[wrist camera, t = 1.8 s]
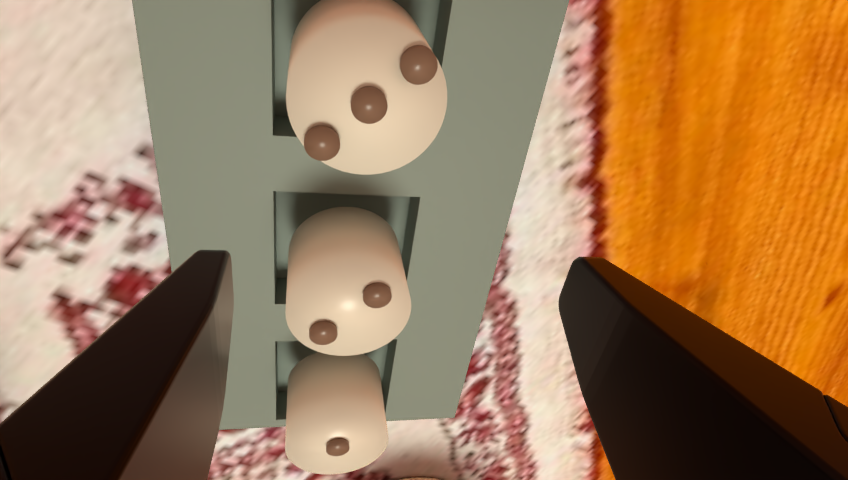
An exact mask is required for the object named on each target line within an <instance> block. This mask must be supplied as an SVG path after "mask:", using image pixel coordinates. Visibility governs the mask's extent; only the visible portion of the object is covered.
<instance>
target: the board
mask: <svg viewBox="0 0 848 480" xmlns="http://www.w3.org/2000/svg"><path fill="white" fill-rule="evenodd" d="M319 1H321V0H132V3H133V10H134V17H135V24H136V30H137V37H138V44H139V51H140V58H141V65H142V72H143V78H144V85H145V92H146V99H147V106H148V113H149V120H150V126H151V133H152V140H153V147H154V154H155V161H156V168H157V174H158V181H159V188H160V195H161V202H162V209H163V215H164V222H165V229H166V236H167V243H168V250H169V257H170V263H171V270H172V272H173V271H174V270H175V269H177V268H178V267H179V266H180V265H181V264H182V263H183V262H185V261H186V260H187V259H188V258H189V257H190V256H191V255H192V254H194V253H195V252H196V251H198V250H226V251H228V252H229V253H230V255H231V262H232V277H233V293H234V310H233V321H232V331H231V341H230V351H229V361H228V371H227V381H226V391H225V399H224V406H223V412H222V417H221V422H220V427H219V430H224V429H243V428H262V427H281V426H286V412H287V387H288V377H289V374H290V372H291V370H292V369H293V368H294V366H295V365H296V364H297V363H298V362H300V361H301V360H302V359H304V358H305V357H307V356H309V355H311V354H314V353H317V351H315V350H313V349H310V348H309V347H307V346H305V345H304V344H302V343H301V342H300V341H298V340H297V338H296V337H295V336H294V335H293V334H292V332H291V331H290V329H289V327H288V325H287V321H286V314H285V310H286V291H287V272H288V252H289V244H290V241H291V238H292V236H293V234H294V232H295V231H296V229H297V228H298V227H299V226H300V225H301V224H302V223H303V222H304V221H305V220H306V219H308V218H309V217H311V216H312V215H314V214H316V213H318V212H320V211H323V210H326V209H330V208H335V207H357V208H362V209H365V210H368V211H371V212H373V213H375V214H377V215H378V216H380V217H382V218H383V219H384V220H385V221H386V222H387V223H388V224H389V225H390V226H391V227H392V229H393V231H394V232H395V235H396V237H397V240H398V245H399V249H400V253H401V258H402V262H403V267H404V271H405V276H406V280H407V285H408V289H409V294H410V298H411V313H410V317H409V320H408V322H407V324H406V326H405V327H404V329H403V330H402V331H401V332H400V334H399V335H398V336H397V337H395V338H394V339H393V340H392V341H390V342H389V343H388V344H386V345H384V346H382V347H380V348H378V349H376V350H373V351H371V352H367V353H364V355H366V356H368V357H369V358H370V359H372V360H373V361H374V362H375V364H376V365H377V367H378V369H379V372H380V379H381V386H382V394H383V401H384V409H385V416H386V421H397V420H416V419H436V418H454V417H455V413H456V410H457V406H458V402H459V399H460V395H461V391H462V388H463V384H464V381H465V377H466V373H467V370H468V366H469V362H470V359H471V355H472V351H473V348H474V344H475V341H476V337H477V333H478V330H479V326H480V322H481V319H482V315H483V311H484V308H485V304H486V301H487V297H488V293H489V290H490V286H491V282H492V279H493V275H494V272H495V268H496V264H497V261H498V257H499V253H500V250H501V246H502V242H503V239H504V235H505V232H506V228H507V224H508V221H509V217H510V213H511V210H512V206H513V202H514V199H515V195H516V192H517V188H518V184H519V181H520V177H521V173H522V170H523V166H524V162H525V159H526V155H527V152H528V148H529V144H530V141H531V137H532V133H533V130H534V126H535V122H536V119H537V115H538V112H539V108H540V104H541V101H542V97H543V93H544V90H545V86H546V82H547V79H548V75H549V72H550V68H551V64H552V61H553V57H554V53H555V50H556V46H557V42H558V39H559V35H560V32H561V28H562V24H563V21H564V17H565V13H566V10H567V6H568V3H569V0H393V1H395V2H396V3H398V4H399V5H400V6H401V7H402V8H404V9H405V10H406V11H407V12H408V14H409V15H410V16H411V17H412V18H413V20H414V21H415V23H416V25H417V26H418V28H419V29H420V31H421V33H422V34H423V36H424V38H425V40H426V41H427V43H428V45H429V46H430V48H431V50H432V51H433V53H434V55H435V56H436V58H437V60H438V61H439V64H440V66H441V68H442V70H443V73H444V77H445V80H446V86H447V108H446V113H445V117H444V120H443V123H442V126H441V128H440V130H439V132H438V134H437V136H436V137H435V139H434V140H433V141H432V143H431V144H430V145H429V147H428V148H427V149H426V150H425V151H424V152H423V153H422V154H420V155H419V156H418V157H417V158H416V159H414V160H413V161H411V162H410V163H408V164H406V165H404V166H402V167H400V168H398V169H395V170H392V171H389V172H385V173H380V174H372V175H361V174H352V173H348V172H343V171H340V170H337V169H335V168H332V167H330V166H328V165H326V164H324V163H323V162H321V161H319V160H315V159H313V158H311V157H310V156H309V155H308V154H307V153H306V151H305V148H304V146H303V145H302V143H301V142H300V140H299V139H298V137H297V136H296V134H295V132H294V130H293V128H292V126H291V123H290V120H289V117H288V112H287V106H286V89H287V78H288V68H289V57H290V47H291V42H292V38H293V35H294V32H295V30H296V28H297V26H298V24H299V22H300V20H301V19H302V18H303V16H304V15H305V14H306V13H307V12H308V10H309V9H310V8H311V7H312V6H314V5H315V4H316V3H318V2H319Z"/></svg>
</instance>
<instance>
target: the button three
mask: <svg viewBox="0 0 848 480" xmlns="http://www.w3.org/2000/svg"><path fill="white" fill-rule="evenodd" d="M286 106H287V112H288V117H289V120H290V123H291V126H292V128H293V130H294V132H295V134H296V136H297V137H298V139H299V140H300V142H301V143H302V145H303V146H304V148H305V151H306V153H307V154H308V155H309V156H310V157H311V158H313V159H315V160H319V161H321V162H323V163H324V164H326V165H328V166H330V167H332V168H335V169H337V170H340V171H343V172H348V173H352V174H361V175H372V174H380V173H385V172H389V171H392V170H395V169H398V168H400V167H402V166H404V165H406V164H408V163H410V162H411V161H413V160H414V159H416V158H417V157H418V156H419V155H420V154H422V153H423V152H424V151H425V150H426V149H427V148H428V147H429V145H430V144H431V143H432V141H433V140H434V139H435V137H436V136H437V134H438V132H439V130H440V128H441V126H442V123H443V120H444V117H445V113H446V108H447V86H446V80H445V77H444V73H443V70H442V68H441V66H440V64H439V61H438V60H437V58H436V56H435V55H434V53H433V51H432V50H431V48H430V46H429V45H428V43H427V41H426V40H425V38H424V36H423V34H422V33H421V31H420V29H419V28H418V26H417V25H416V23H415V21H414V20H413V18H412V17H411V16H410V15H409V14H408V12H407V11H406V10H405V9H404V8H402V7H401V6H400V5H399V4H398V3H396V2H395V1H393V0H321V1H319V2H318V3H316V4H315V5H314V6H312V7H311V8H310V9H309V10H308V12H307V13H306V14H305V15H304V16H303V18H302V19H301V20H300V22H299V24H298V26H297V28H296V30H295V32H294V35H293V38H292V42H291V47H290V57H289V68H288V78H287V89H286Z"/></svg>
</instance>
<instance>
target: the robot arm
mask: <svg viewBox="0 0 848 480" xmlns="http://www.w3.org/2000/svg"><path fill="white" fill-rule="evenodd" d="M233 310H234V293H233V277H232V262H231V255H230V253H229V252H228V251H226V250H198V251H196V252H195V253H194V254H192V255H191V256H190V257H189V258H188V259H187V260H186V261H185V262H183V263H182V264H181V265H180V266H179V267H178V268H177V269H175V270H174V271H173V272H172V273H171V274H170V275H169V276H167V277H166V278H165V279H164V280H163V281H162V282H161V283H160V284H158V285H157V286H156V287H155V288H154V289H153V290H152V291H150V292H149V293H148V294H147V295H146V296H145V297H144V298H142V299H141V300H140V301H139V302H138V303H137V304H136V305H135V306H133V307H132V308H131V309H130V310H129V311H128V312H127V313H125V314H124V315H123V316H122V317H121V318H120V319H119V320H117V321H116V322H115V323H114V324H113V325H112V326H111V327H110V328H108V329H107V330H106V331H105V332H104V333H103V334H102V335H100V336H99V337H98V338H97V339H96V340H95V341H94V342H92V343H91V344H90V345H89V346H88V347H87V348H86V349H85V350H83V351H82V352H81V353H80V354H79V355H78V356H77V357H75V358H74V359H73V360H72V361H71V362H70V363H69V364H67V365H66V366H65V367H64V368H63V369H62V370H61V371H60V372H58V373H57V374H56V375H55V376H54V377H53V378H52V379H50V380H49V381H48V382H47V383H46V384H45V385H44V386H42V387H41V388H40V389H39V390H38V391H37V392H36V393H35V394H33V395H32V396H31V397H30V398H29V399H28V400H27V401H25V402H24V403H23V404H22V405H21V406H20V407H19V408H17V409H16V410H15V411H14V412H13V413H12V414H11V415H10V416H8V417H7V418H6V419H5V420H4V421H3V422H2V423H0V480H207V478H208V474H209V469H210V465H211V461H212V457H213V452H214V448H215V444H216V440H217V435H218V431H219V427H220V422H221V417H222V412H223V406H224V399H225V391H226V381H227V371H228V361H229V351H230V341H231V331H232V321H233ZM559 312H560V316H561V319H562V323H563V327H564V330H565V334H566V338H567V341H568V345H569V349H570V352H571V356H572V360H573V363H574V367H575V371H576V374H577V378H578V381H579V385H580V388H581V391H582V394H583V397H584V400H585V403H586V405H587V408H588V411H589V413H590V416H591V418H592V421H593V423H594V426H595V428H596V431H597V433H598V436H599V438H600V441H601V444H602V446H603V449H604V451H605V454H606V456H607V459H608V461H609V464H610V466H611V469H612V471H613V474H614V476H615V479H616V480H848V407H846V406H845V405H843V404H842V403H840V402H838V401H837V400H835V399H833V398H832V397H830V396H828V395H823V394H822V392H821V391H820V390H818V389H817V388H815V387H814V386H812V385H810V384H809V383H807V382H805V381H804V380H802V379H800V378H799V377H797V376H795V375H794V374H792V373H791V372H789V371H787V370H786V369H784V368H782V367H781V366H779V365H777V364H776V363H774V362H773V361H771V360H769V359H768V358H766V357H764V356H763V355H761V354H759V353H758V352H756V351H754V350H753V349H751V348H750V347H748V346H746V345H745V344H743V343H741V342H740V341H738V340H736V339H735V338H733V337H732V336H730V335H728V334H727V333H725V332H723V331H722V330H720V329H718V328H717V327H715V326H714V325H712V324H710V323H709V322H707V321H705V320H704V319H702V318H700V317H699V316H697V315H696V314H694V313H692V312H691V311H689V310H687V309H686V308H684V307H682V306H681V305H679V304H678V303H676V302H674V301H673V300H671V299H669V298H668V297H666V296H664V295H663V294H661V293H660V292H658V291H656V290H655V289H653V288H651V287H650V286H648V285H646V284H645V283H643V282H642V281H640V280H638V279H637V278H635V277H633V276H632V275H630V274H628V273H627V272H625V271H623V270H622V269H620V268H619V267H617V266H615V265H614V264H612V263H610V262H609V261H607V260H605V259H604V258H601V257H578V258H576V259H575V260H574V261H573V263H572V265H571V267H570V270H569V272H568V275H567V278H566V280H565V283H564V286H563V288H562V291H561V294H560V297H559Z"/></svg>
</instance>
